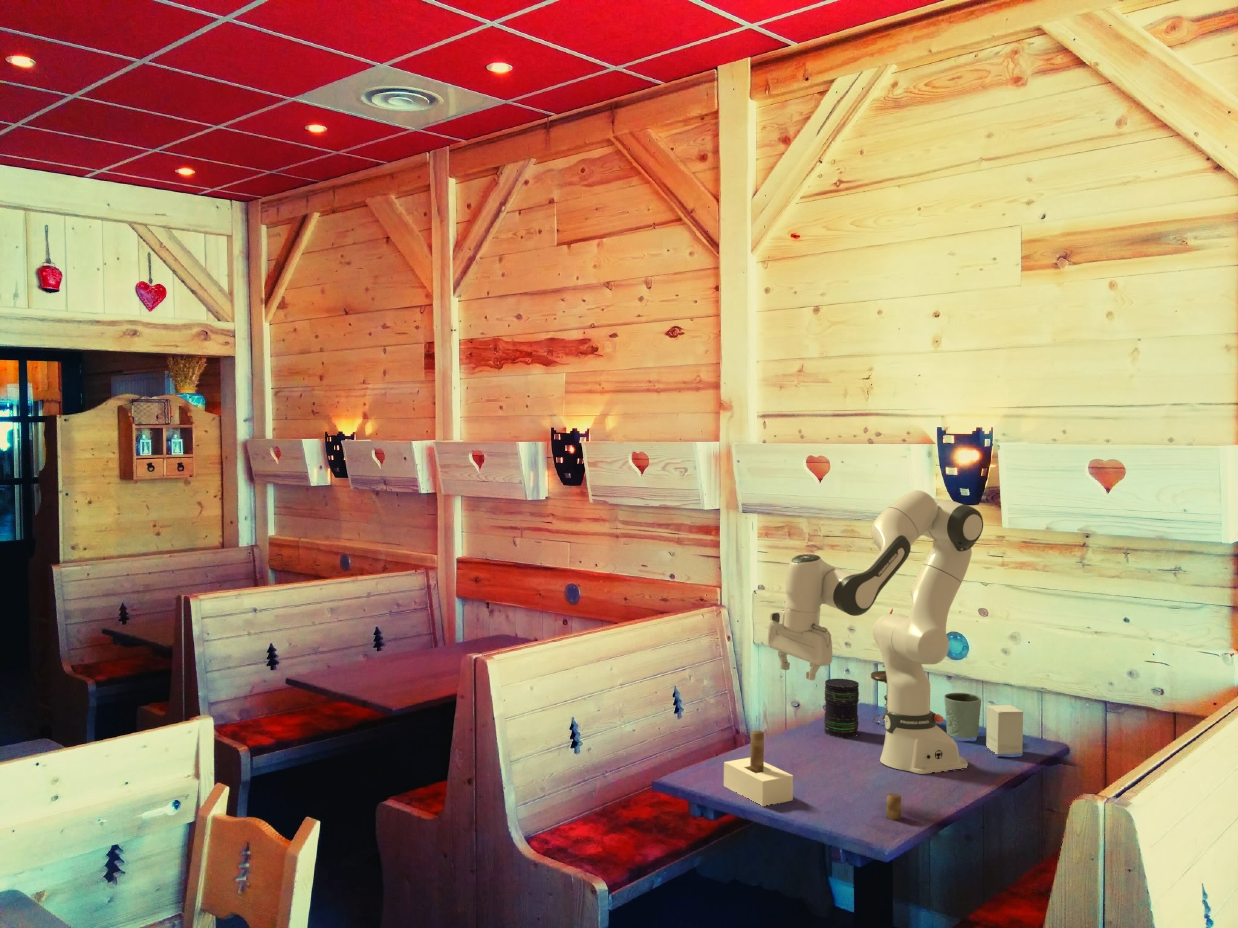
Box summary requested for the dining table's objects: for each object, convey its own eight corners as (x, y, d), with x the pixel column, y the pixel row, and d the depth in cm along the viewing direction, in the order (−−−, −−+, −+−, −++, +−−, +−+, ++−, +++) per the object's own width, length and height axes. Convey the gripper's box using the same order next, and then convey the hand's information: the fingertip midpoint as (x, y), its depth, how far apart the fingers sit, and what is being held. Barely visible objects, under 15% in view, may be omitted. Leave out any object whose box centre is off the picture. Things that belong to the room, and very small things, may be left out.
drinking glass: (984, 736, 302) (985, 695, 301) (975, 745, 293) (975, 703, 293) (949, 730, 307) (950, 690, 307) (939, 738, 299) (939, 697, 299)
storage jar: (821, 727, 309) (821, 678, 309) (854, 728, 309) (854, 678, 309) (827, 737, 299) (828, 686, 299) (861, 738, 299) (862, 686, 299)
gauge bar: (753, 780, 263) (753, 756, 263) (792, 800, 249) (793, 775, 249) (723, 785, 258) (723, 761, 258) (762, 806, 244) (762, 781, 244)
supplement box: (1023, 757, 283) (1024, 711, 282) (996, 757, 282) (997, 711, 282) (1010, 749, 290) (1011, 704, 290) (985, 749, 290) (986, 704, 289)
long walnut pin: (764, 791, 255) (764, 731, 254) (762, 795, 251) (763, 734, 251) (751, 790, 255) (751, 729, 255) (749, 794, 252) (749, 733, 252)
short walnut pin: (897, 814, 240) (897, 793, 240) (903, 819, 237) (903, 798, 237) (884, 815, 240) (884, 793, 239) (889, 820, 236) (890, 798, 236)
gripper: (840, 628, 251) (836, 684, 252) (784, 610, 268) (780, 662, 269) (821, 630, 247) (817, 687, 248) (765, 611, 264) (761, 665, 265)
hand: (797, 674), depth 259 cm, fingers open, 8 cm apart
